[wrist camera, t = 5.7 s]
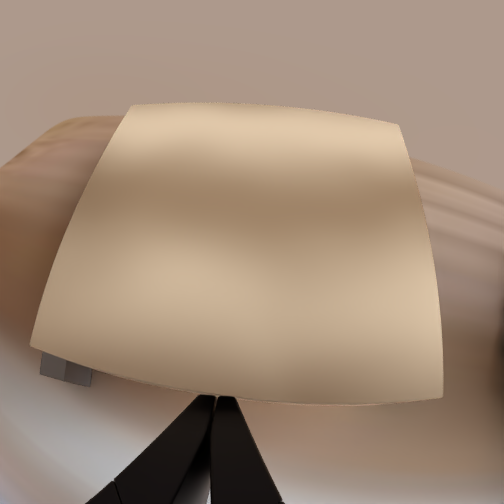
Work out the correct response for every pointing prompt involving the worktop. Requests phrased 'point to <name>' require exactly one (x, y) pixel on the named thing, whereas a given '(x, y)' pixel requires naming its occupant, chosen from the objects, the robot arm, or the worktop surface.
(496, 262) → the worktop surface
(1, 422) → the worktop surface
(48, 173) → the worktop surface
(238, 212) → the oak block
